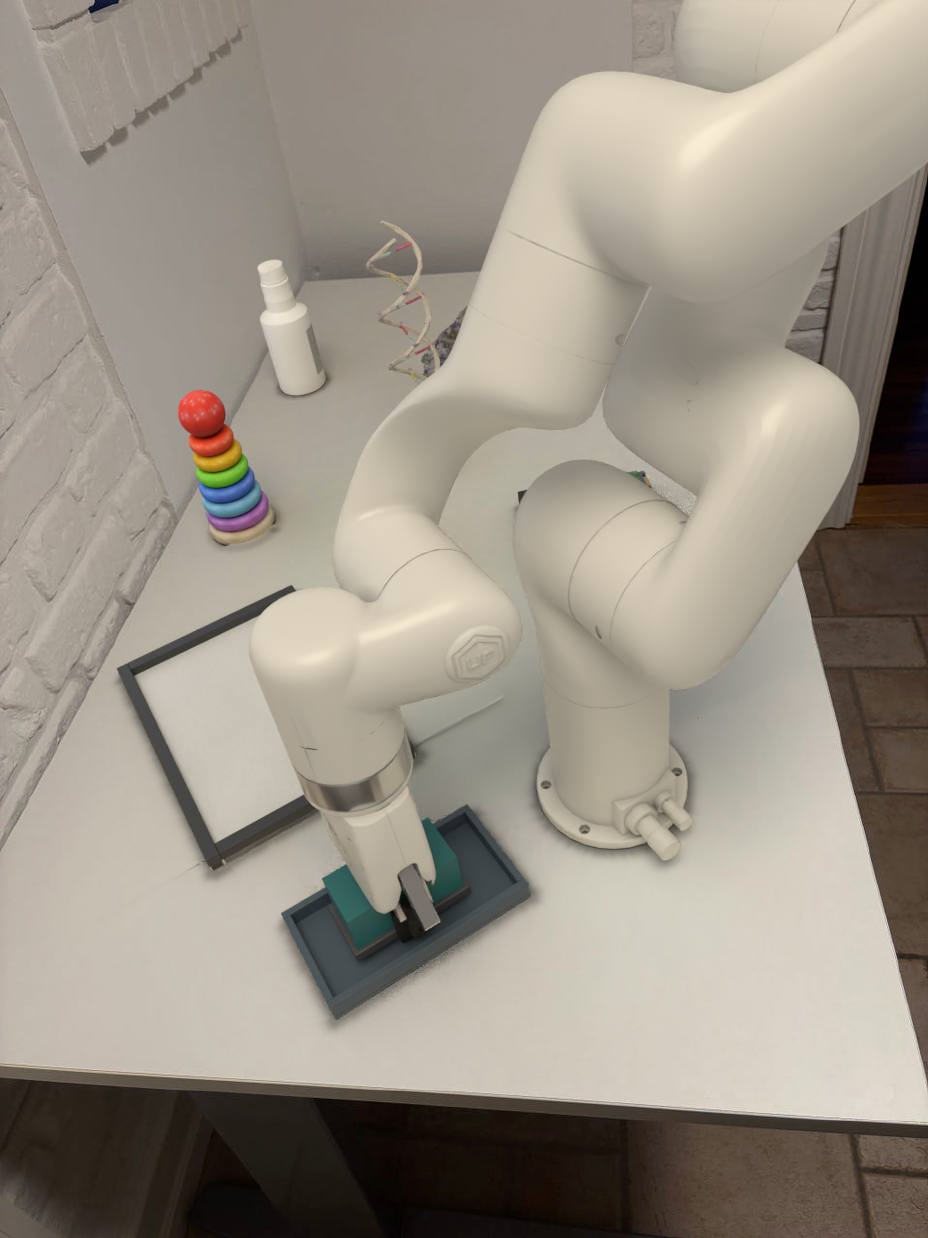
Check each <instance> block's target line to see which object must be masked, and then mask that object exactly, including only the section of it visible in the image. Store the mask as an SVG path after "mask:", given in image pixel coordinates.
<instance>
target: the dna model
mask: <svg viewBox="0 0 928 1238" xmlns="http://www.w3.org/2000/svg"><path fill="white" fill-rule="evenodd" d="M380 225H382V226H384V227H387V228H388V229H391V230H393V231H394V232H395V233H397V234H399V235H400V236H401V237H403V238H404V239H405V240H406V241H407V243H405V244H403V245H399V247H397V248H395V249H394V250H391V251H389V249H391V248H392V246H394V245H395V244H396V243H397V242H398V240H397V238H396V237H393V238H391V239H390V240H389V241H388V242H387V243H386V244H385V245H384V246H383V247H381V249H379V250H378V251H377V252H376V253H375V254H374V255H373V256H372V257H371V256H370V257H369V259H368V260H367V262H366V264H365V267H366V269H367V271H369V272H371V273H373V274H376V275H380V276H383V277H386V278H390V279H391V280H392V281H393V282H394V283H395V285H396V286H397V287H398V288H399V290H400V291H401V295H400V296H399V297H398V298H397V299H396V300H395V301H394V303H392V304H391V305H390V306H388V307H387V308H385V309H384V310H383V311H382V312H378V313H376V315H378V316H377V321H378V323H380V324H383V325H387V326H390V327H391V326H392V327H395V328H398V329H399V330H400V329H401V330H402V331H403V332H404V334H405V335H407V337H408V339H409V341H410V342H411V343H412V345H411V346H410V347H409V348H408V349H407V350H406V351H405V352H404V353H403V354H401V355H400V356H399V357H397V358H396V359H394V360H393V361H391V362H390V363H388V365H387V367H388V370H389V371H393V372H398V373H402V374H405V375H406V374H407V375H409V376H411V377H412V379H413V380H414V382H416V383H417V386H418V385H419V384H420V383H421V382H420V381H419V380H421V381H422V382H423V381H424V380H425V379H427V377H425V376H424V375H423V374H421V373H419V372H416V371H414V370H413V369H412V367H409V368H402V367H398V365H400V364H402V363H403V362H405V361H407V360H409V359H410V358H412V357H414V356H417V355H419V354H421V353H423V352H426V351H427V350H428V349H431V351H432V352H433V354H434V360H435V369H434V372H436V371H437V370H438V369H439V368H440V359H439V357H438V354H437V351H436V348H435V344H436V342H434V341H431V340H430V338H428V337H427V334H428V333H429V330H430V327H431V326H430V325H431V321H432V315H433V313H432V309H431V305H430V301H429V299H428V297H427V296H426V294H425V293H424V292H423V291H422V290H421V289H420V288H418V287H417V284H418V282H419V280H420V277H421V274H422V270H423V257H422V251H421V249H420V247H419V245H418V244H417V243H418V242H417V238H416V236H415V237H413V238H412V236H410V234H409V233H408V232H407V231H405V230H403V229H402V228H401V227H399V226H398V225H396V224H393V223H390V222H388V221H385V220H380ZM408 247H412V250H413V252H414V254H415V255H414V256H415V257H416V259H417V268H416V271H415V273H414V274H413V277H412V279H411V281H408V280H406V279H405V278H402V277H400V276H399V275H396V274H395V273H393V272H389V271H386V270H382V269H378V268H376V267H375V265H374V264H375V263H376V262H377V261H379V260H382V259H383V258H386V257H388V256H390V255H392V254H394V253H395V252H399V251H401V250H403V249H405V248H408ZM399 283H400V284H399ZM401 285H404V286H406V289H404V287H402V286H401ZM412 292H414V293H415V294H416V295H417V296H416V297H414V298H412V299H410V300H407V301H406V302H405V303H402V302H404V301H405V299H406V298H407V297H408V296H409V295H410V294H411V293H412ZM418 300H421V301H422V305H423V309H424V312H425V316H426V317H425V320H424V326H423V329H422V330H421V331H419V330H418V329H415V328H414V327H411V326H410V325H407V324H404V322H403V321H402V320H401V321H400V322H397V321H394V320H391V319H388V318H385V317H386V316H387V315H389V314H391V313H392V312H395V311H397V310H399V309H401V308H403V307H404V306H405V305H406V306H408V305H410V304H412V303H414V302H416V301H418ZM401 303H402V304H401ZM409 334H413V335H414V336H416V337H417V339H416V341H415V340H414V339H413V338H412V337H411V336H410V335H409ZM422 342H423V343H424V344H426V345H427V346H426V347H424V348H422V349H421V348H420V349H419V350H416V349H417V348H418V347H419V346H420V345H421V343H422ZM415 350H416V351H415ZM414 351H415V352H414ZM413 352H414V353H413ZM418 379H419V380H418Z"/></svg>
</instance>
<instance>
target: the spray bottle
mask: <svg viewBox="0 0 928 1238" xmlns="http://www.w3.org/2000/svg"><path fill="white" fill-rule="evenodd" d="M257 272H258V275H259V279H260V280H259V281H260V283H259V284H260V289H261V291H262V295H263V300H264V304H265V307H266V308H265V310H263V311H262V313H261V314H260V316H259V322H260V326H261V328H262V329H261V330H262V332H263V337H264V339H265V343H266V345H267V349H268V352H269V355H270V359H271V362H272V365H273V368H274V371H275V375H276V379H277V381H278V385H279V388H280V390H281V391H282V392H283V393H284V394H286V395H288V396H303V395H307V394H311V393H314V392H315V391H318V390H319V389H320V388H322V387H323V386H324V385H325V382H326V380H327V378H326V373H325V370H324V365H323V362H322V358H321V354H320V350H319V347H318V343H317V339H316V335H315V332H314V327H313V325H312V320H311V316H310V312H309V309H308V306H307V305H305V303H302V302H299V301H296V299H295V295H294V292H293V290H292V287H291V283H290V279H289V277H288V275H287V273H286V271H285V268H284V264H283V261H282V260H280V259H269V260H265V261H263V262H261V263H259V264H258V265H257Z"/></svg>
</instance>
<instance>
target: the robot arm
mask: <svg viewBox="0 0 928 1238" xmlns="http://www.w3.org/2000/svg"><path fill="white" fill-rule="evenodd" d="M673 64H674V71H675V78H676V80H672V79H668V78H663V77H658V76H654V75H648V74H644V73H643V74H642V73H637V72H632V71H617V70H616V71H615V70H614V71H613V70H606V71H605V70H604V71H596V72H590V73H587V74H582V75H580V76H577V77H575V78H573V79H572V80H570V81H568V82H567V83H565V84H564V85H563V86H561V87H560V88H559V89H558V90H556V91H555V92H554V93H553V94H552V95H551V97H550V98H549V100H547V102H546V103H545V105H544V106H543V108H542V110H541V111H540V113H539V115H538V117H537V119H536V121H535V124H534V125H533V127H532V130H531V133H530V135H529V138H528V141H527V143H526V146H525V149H524V151H523V153H522V156H521V158H520V161H519V164H518V167H517V170H516V173H515V175H514V178H513V181H512V184H511V186H510V189H509V192H508V194H507V197H506V199H505V203H504V206H503V208H502V211H501V214H500V217H499V219H498V222H497V225H496V228H495V231H494V233H493V236H492V239H491V241H490V242H491V243H490V244H489V247H488V250H487V253H486V256H485V259H484V261H483V264H482V267H481V269H480V272H479V275H478V278H477V280H476V282H475V285H474V288H473V291H472V293H471V297H470V299H469V302H468V304H467V305H468V307H467V310H466V313H465V315H464V318H463V321H462V324H461V327H460V330H459V333H458V335H457V338H456V340H455V343H454V345H453V348H452V350H451V352H450V354H449V356H448V358H447V359H446V361H445V362H444V364H443V365H442V366H441V367H440V368H439V369H438V370H437V371H436V372H434V373H433V374H432V375H431V376H429V377H428V378H427V379H425V380H424V381H423V380H422V382H419V383H420V384H419V385H418V384H417V385H416V387H415V388H414V389H412V390H411V391H410V392H409V393H408V394H407V395H406V396H405V397H404V398H403V399H402V400H401V401H400V402H399V403H398V405H396V406H395V407H394V408H393V409H392V411H391V412H390V413H389V414H388V415H386V417H385V419H383V420H382V422H381V423H380V424H379V425H378V426H377V428H376V429H375V430H374V432H373V433H372V435H371V436H370V438H369V439H368V441H367V443H366V444H365V446H364V448H363V450H362V452H361V454H360V456H359V459H358V461H357V463H356V466H355V468H354V472H353V474H352V477H351V480H350V483H349V486H348V489H347V492H346V495H345V498H344V501H343V503H342V506H341V510H340V512H339V517H338V520H337V524H336V527H335V531H334V535H333V543H332V557H331V559H332V568H333V573H334V574H333V575H334V577H335V579H336V582H337V584H338V587H334V586H314V587H313V586H312V587H306V588H303V589H299V590H296V591H295V592H293V593H290V594H288V595H286V596H284V597H282V598H280V599H278V600H277V601H275V602H274V603H272V604H271V605H270V606H269V607H267V608H266V609H265V610H264V611H263V613H262V614H261V615H260V616H259V617H258V619H257V620H256V622H255V624H254V626H253V628H252V631H251V634H250V638H249V657H250V661H251V664H252V667H253V670H254V672H255V675H256V677H257V680H258V682H259V685H260V687H261V690H262V692H263V695H264V697H265V700H266V702H267V705H268V707H269V709H270V712H271V714H272V717H273V719H274V722H275V724H276V727H277V729H278V732H279V734H280V737H281V739H282V741H283V744H284V746H285V749H286V751H287V754H288V756H289V759H290V761H291V763H292V766H293V768H294V771H295V773H296V776H297V778H298V781H299V783H300V786H301V788H302V791H303V793H304V795H305V797H306V799H307V800H308V801H309V802H310V804H311V805H312V806H314V807H315V808H316V809H318V810H320V812H319V814H320V817H321V820H322V823H323V825H324V827H325V830H326V832H327V833H328V836H329V838H330V839H331V841H332V843H333V845H334V846H335V849H336V850H337V851H338V853H339V855H340V856H341V858H342V860H343V862H344V863H345V865H347V866H348V868H349V870H350V871H351V873H352V875H353V876H354V878H355V880H356V881H357V883H358V885H359V886H360V888H361V890H362V891H363V893H364V894H365V896H366V898H367V899H368V901H369V902H370V904H371V905H372V907H373V908H374V909H375V910H376V911H377V912H380V913H383V914H386V913H388V912H390V911H391V912H390V915H391V918H392V921H393V924H394V926H395V929H396V932H397V935H398V937H399V939H400V941H401V942H402V943H406V942H407V941H409V940H411V939H412V938H419V937H421V936H423V935H424V934H426V933H427V932H429V931H430V929H431V927H433V926H435V925H436V924H438V923H440V919H439V916H438V914H437V912H436V910H435V907H434V904H433V900H432V897H431V894H430V892H429V890H428V887H427V885H428V884H431V885H433V884H434V882H435V878H436V870H435V865H434V861H433V857H432V853H431V850H430V847H429V844H428V840H427V837H426V834H425V831H424V828H423V825H422V823H421V821H422V820H421V817H420V814H419V811H418V806H417V803H416V802H415V800H414V798H413V796H412V793H411V790H410V787H409V785H408V783H409V782H410V780H411V776H412V774H413V770H414V769H413V768H414V760H413V756H412V753H411V749H410V745H409V741H408V739H409V738H408V734H407V730H406V727H405V722H404V720H403V716H402V713H401V709H400V707H402V706H404V705H410V704H414V703H417V702H421V701H424V700H429V699H433V698H436V697H441V696H444V695H449V694H452V693H456V692H460V691H461V690H465V689H469V688H472V687H474V686H476V685H478V684H481V683H483V682H486V680H489V679H490V678H492V677H493V676H495V675H496V674H497V673H499V672H501V671H502V670H503V669H504V668H505V667H506V666H507V665H508V664H509V663H510V662H511V660H512V659H513V658H514V656H515V655H516V653H517V652H518V650H519V648H520V645H521V642H522V637H523V622H522V616H521V614H520V611H519V609H518V607H517V605H516V603H515V602H514V600H513V599H512V597H511V596H510V595H509V594H508V592H506V590H505V589H504V588H503V587H502V586H501V585H500V584H498V582H497V581H495V579H493V578H492V577H491V576H490V575H489V574H488V573H487V572H486V571H485V570H484V569H483V568H482V567H481V566H480V565H479V564H478V563H477V562H476V561H475V560H474V559H473V558H472V557H471V556H470V555H469V554H468V553H467V552H466V551H465V550H464V549H463V548H462V547H461V546H459V544H457V542H455V540H453V539H452V538H451V537H450V536H449V535H448V533H446V532H445V531H444V530H443V529H442V528H441V527H440V525H439V524H440V520H441V518H442V515H443V512H444V509H445V507H446V505H447V501H448V499H449V496H450V494H451V492H452V489H453V486H454V484H455V483H456V480H457V478H458V476H459V474H460V472H461V470H462V469H463V468H464V466H465V464H466V463H467V461H468V460H469V459H470V458H471V456H472V455H473V454H474V453H475V451H477V450H478V449H479V448H480V447H481V446H482V445H484V444H485V443H486V442H487V441H489V440H490V439H493V438H494V437H496V436H497V435H499V434H502V433H504V432H508V431H511V430H514V429H520V428H527V429H528V428H529V429H537V430H546V431H565V430H569V429H574V428H577V427H579V426H580V425H583V424H585V423H586V422H587V421H588V420H589V419H591V417H592V416H593V414H594V413H595V410H596V409H597V407H598V404H599V402H600V400H601V397H602V401H601V407H602V408H601V409H602V416H603V419H604V422H605V425H606V427H607V429H608V430H609V431H610V432H611V434H612V435H613V437H614V438H615V439H616V440H617V441H618V442H619V443H621V444H622V445H623V446H624V447H625V448H626V449H627V450H629V451H630V452H631V453H632V454H633V455H635V456H636V457H637V458H639V459H641V460H642V461H643V462H645V463H646V464H648V465H649V466H651V468H654V469H655V470H657V471H658V472H660V474H662V475H664V476H665V477H667V478H669V479H670V480H671V481H673V482H675V483H676V484H678V485H679V486H680V487H682V488H683V489H685V490H686V491H687V492H689V493H691V494H692V495H694V496H695V497H696V499H695V501H694V504H693V506H692V509H691V511H690V514H687V513H686V512H684V511H683V510H682V509H681V508H680V507H679V506H678V505H676V504H675V503H673V502H672V501H670V500H669V499H667V497H665V496H663V494H660V493H659V492H658V491H656V490H654V489H653V487H652V488H650V487H649V486H647V485H646V484H644V483H643V482H641V481H640V480H638V479H637V478H635V477H633V476H632V475H630V474H628V473H627V472H628V471H626V470H623V469H621V468H618V467H617V466H615V465H612V464H610V463H606V462H603V461H598V460H593V459H572V460H568V461H565V462H561V463H559V464H556V465H554V466H552V467H551V468H549V469H547V470H545V471H544V472H543V473H542V474H540V475H539V476H538V477H537V478H536V479H535V480H533V482H532V483H531V484H530V485H529V487H528V488H527V489H528V490H527V489H526V490H527V491H526V492H525V494H524V496H523V498H522V499H521V502H520V504H519V503H518V507H517V509H516V513H515V516H514V519H513V527H512V551H513V557H514V564H515V566H516V567H515V568H516V570H517V574H518V577H519V580H520V585H521V586H522V589H523V593H524V595H525V596H524V597H525V598H526V601H527V605H528V607H529V611H530V614H531V618H532V621H533V625H534V630H535V635H536V640H537V647H538V648H537V649H538V654H539V663H540V675H541V682H542V690H543V698H544V707H545V717H546V724H547V730H548V739H549V746H550V747H549V748H548V749H547V751H546V752H545V754H544V755H543V757H542V759H541V761H540V763H539V766H538V769H537V775H536V791H537V797H538V801H539V804H540V807H541V809H542V811H543V813H544V815H545V816H546V818H547V819H548V821H549V822H550V823H551V825H553V826H554V827H555V828H556V829H557V830H558V831H559V832H560V833H562V834H563V835H565V836H566V837H568V838H569V839H570V840H572V841H573V840H574V841H576V842H578V843H580V844H583V845H585V846H590V847H593V848H598V849H609V850H617V849H629V848H633V847H636V846H640V845H644V844H647V845H648V846H649V848H651V849H652V851H654V852H655V854H656V855H657V856H658V857H659V858H660V859H661V860H662V861H664V862H665V861H666V862H667V861H669V860H671V859H673V858H674V857H675V856H676V855H677V854H678V853H679V852H680V851H681V848H682V843H681V841H680V840H679V839H678V838H677V837H676V836H675V835H674V834H673V833H672V832H671V831H670V830H669V829H670V828H671V827H672V826H673V825H675V827H677V829H678V830H679V831H680V832H684V831H687V830H688V829H689V828H690V827H691V826H692V825H693V824H694V818H693V817H692V815H690V814H689V812H687V810H686V809H685V805H686V802H687V798H688V789H689V786H688V785H689V784H688V783H689V782H688V773H687V768H686V766H685V762H684V761H683V759H682V757H681V755H680V753H679V751H677V749H676V748H675V747H674V746H673V745H672V744H671V742H670V719H671V717H670V716H671V715H670V713H671V712H670V711H671V710H670V709H671V708H670V707H671V706H670V705H671V690H676V691H677V690H678V691H679V690H686V689H687V690H688V689H690V688H695V687H697V686H700V685H702V684H703V683H705V682H706V681H709V680H710V679H712V678H713V677H714V676H716V675H717V674H718V673H719V672H721V671H722V670H723V669H724V668H725V667H726V666H727V665H728V664H729V663H730V662H731V661H732V660H733V658H734V657H735V656H736V655H737V654H738V653H739V652H740V650H741V649H742V648H743V647H744V645H745V644H746V642H747V641H748V640H749V638H750V636H751V635H752V634H753V632H754V631H755V629H756V627H757V626H758V625H759V623H760V621H761V620H762V618H763V617H764V615H765V614H766V613H767V611H768V609H769V608H770V606H771V604H772V602H773V601H774V599H775V597H776V596H777V595H778V593H779V591H780V589H781V588H782V587H783V585H784V583H785V581H786V580H787V578H788V576H789V575H790V574H791V572H792V570H793V569H794V567H795V565H796V564H797V562H798V561H799V559H800V557H801V556H802V554H803V552H804V551H805V549H806V548H807V546H808V544H809V543H810V542H811V539H812V538H813V537H814V535H815V533H816V532H817V529H818V528H819V527H820V525H821V524H822V522H823V520H824V518H825V517H826V516H827V514H828V512H829V510H830V509H831V508H832V506H833V504H834V502H835V500H836V498H837V497H838V495H839V493H840V491H841V490H842V487H844V484H845V482H846V479H847V478H848V476H849V474H850V471H851V468H852V465H853V462H854V459H855V456H856V452H857V449H858V444H859V443H858V442H859V437H860V414H859V413H860V412H859V408H858V404H857V401H856V399H855V396H854V395H853V393H852V392H851V390H850V388H849V387H848V385H847V384H846V383H845V382H844V381H843V380H842V379H841V378H840V377H839V376H837V374H835V373H834V372H832V371H831V370H830V369H828V368H826V367H825V366H823V365H821V364H820V363H817V362H816V361H814V360H812V359H809V358H807V357H805V356H803V355H801V354H799V353H797V352H795V351H792V350H790V349H789V348H787V347H786V343H787V341H788V339H789V336H790V334H791V332H792V330H793V328H794V326H795V324H796V322H797V321H798V320H797V319H798V318H799V316H800V314H801V312H802V310H803V308H804V306H805V304H806V302H807V300H808V298H809V296H810V294H811V291H812V290H813V288H814V286H815V285H816V283H817V280H818V279H819V277H820V274H821V272H822V269H823V267H824V265H825V262H826V260H827V256H828V251H829V247H830V240H831V237H832V236H833V235H834V234H835V233H837V232H838V231H840V229H842V228H843V227H844V226H846V225H847V224H849V223H850V222H851V221H853V220H854V219H855V218H856V217H858V216H859V215H861V214H862V213H864V212H865V211H866V210H868V209H869V208H871V206H873V205H875V204H876V203H877V202H878V201H879V200H881V199H883V198H884V197H885V196H886V195H888V194H889V193H890V192H892V191H894V190H895V189H896V188H897V187H898V186H900V185H901V184H903V183H904V182H905V181H907V180H908V179H909V178H910V177H913V175H914V174H916V173H917V172H918V171H919V170H920V169H922V168H923V167H924V166H925V165H927V164H928V0H682V3H681V5H680V10H679V12H678V16H677V20H676V25H675V31H674V38H673ZM650 287H651V289H650ZM648 289H650V290H649V292H648V295H647V297H646V299H645V301H644V303H643V300H644V298H645V296H646V294H647V291H648ZM642 303H643V305H642ZM640 307H641V310H640ZM639 310H640V311H639ZM636 316H637V317H636ZM602 394H603V395H602ZM625 471H626V472H625ZM426 883H427V885H426ZM404 892H405V894H406V896H407V897H406V898H404V899H403V900H401V901H399V898H400V894H402V893H404Z"/></svg>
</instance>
